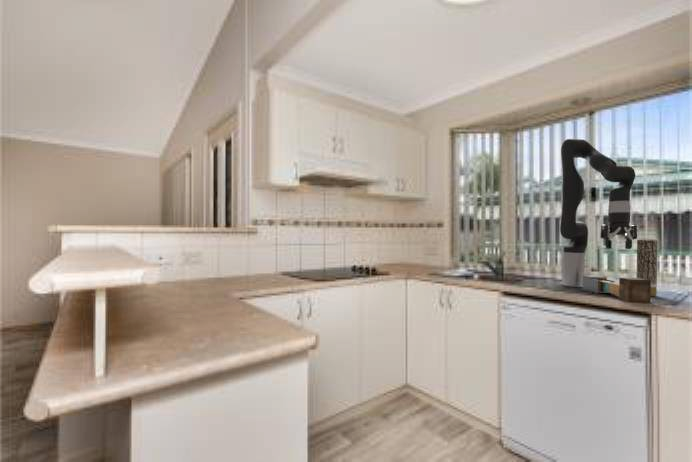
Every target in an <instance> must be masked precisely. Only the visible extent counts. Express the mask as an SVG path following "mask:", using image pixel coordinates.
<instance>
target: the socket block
mask: <svg viewBox="0 0 692 462" xmlns="http://www.w3.org/2000/svg"><path fill="white" fill-rule="evenodd" d="M618 278H619V279H618V281H619V282H618V283H619V295H618V300H620V301H622V302H627V303H646V302H650V303H651V298H652V296H651V280H648V279H642V278H636V277H618Z"/></svg>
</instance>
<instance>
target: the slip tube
mask: <svg viewBox="0 0 692 462" xmlns="http://www.w3.org/2000/svg"><path fill="white" fill-rule="evenodd" d="M595 280H600V279H595ZM600 281H601V291H602V292H606V293H611V294H610V295H616V296H619V282H616V281H615V282H610V281H605V280H600Z"/></svg>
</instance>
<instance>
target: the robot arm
mask: <svg viewBox="0 0 692 462" xmlns="http://www.w3.org/2000/svg"><path fill="white" fill-rule="evenodd" d="M560 156H561V157H560V158H561V167H562V186H561V187H562V191H561V192H562V194H561V195H562V203H561V208H562V209H561V219H560V225H559V226H560V228H559V230H560V231H559V232H560V235H561V237H562V238H564V239H565V240H569V243H568V244H566V245H564V246H563V253H562V255H563V257H562V258H563V259H562V266H561V267H562V269H561V271H562V272H561V284H562V285H563V286H565V287H571V288H572V287H573V288H582V286H583V275H586V274H585V273H586V271H585V270H586V249H587V246H588V239H589V228H588V225H587V224H586V223H585V222H583V221H580V220H579V221H577V219H576V218H577V211H578V207H579V206H580V204H581V203H582V200H583V198H584V195H585V182H584V179H583V177H582V176H581V174H580V173H579V171H578V169H577V167H576V163H575V159H579V158H581V159H584V160H587V162H588V164H589V166H590V167H591V168H592V169H593V170H595V171H596V172H597V173H599V174H600V175H601V176H602V177H603V178H604V180H606V181H607V182H611V183H618V185H617V187H613V188H611V189H610V190H609V196H608V197H609V199H608V201H609V202H608V207H607V208H608V209H607V211H608V212H607V215H608V216H607V222H608V224H602V225H600V239H603V240H605V243H604V245H605V248H606V249H608V250H611V249H612V247H613V245H612V242H613V241H612V239H613V238H614V237H616V236H622V237H624V239H625V242H624V243H625V244H624V245H625V250H631V249H632V248H633V241H634V240H637V239H638V226H637V225H636V224H633V225H632V224H630V222H631V202H630V201H631V200H630V198H631V191H632V188H633V184H634V181H635V180H636V171H635V169H634V167H632V166H629V165H628V166H625V165H617V162H616V161H615V160H613V159H612V158H610V157H609V156H606V155H605V154H603V153H601V152H600V151H598V150H597V148H595V147H594V146H593V145H592V144H590V143H589V141H587V140H585V139H580V138H579V139H578V138H575V139H574V138H568V139H565V140H564V141H563V142H562V144H561V147H560Z"/></svg>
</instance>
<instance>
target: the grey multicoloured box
mask: <svg viewBox="0 0 692 462" xmlns="http://www.w3.org/2000/svg"><path fill="white" fill-rule="evenodd" d="M595 279H600V280H605V281H610V282H615V283H616V281H615V280H611V279H608V277H607V276H603V275H586V274H585V275H583V286H582V287H581V291H584V292H585V291H586V292H588V291H589V292H588V293H592V292H594V293H593V294H596V293H606V292H602V291H601V281H600V280H595Z"/></svg>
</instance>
